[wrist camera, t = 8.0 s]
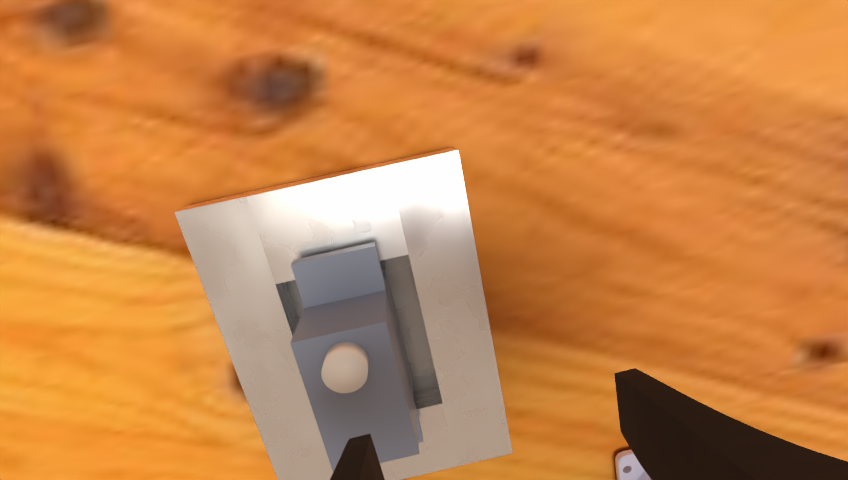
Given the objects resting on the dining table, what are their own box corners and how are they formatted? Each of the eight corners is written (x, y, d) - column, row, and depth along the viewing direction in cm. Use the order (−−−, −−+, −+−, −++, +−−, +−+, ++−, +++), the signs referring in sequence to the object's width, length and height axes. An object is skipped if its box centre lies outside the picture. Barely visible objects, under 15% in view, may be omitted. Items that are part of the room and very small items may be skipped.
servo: (419, 406, 23) (431, 509, 17) (355, 421, 23) (344, 529, 17) (375, 229, 20) (372, 279, 14) (302, 245, 20) (267, 302, 14)
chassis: (504, 431, 25) (512, 453, 23) (294, 481, 24) (288, 506, 23) (452, 147, 20) (458, 150, 18) (190, 204, 20) (174, 212, 18)
